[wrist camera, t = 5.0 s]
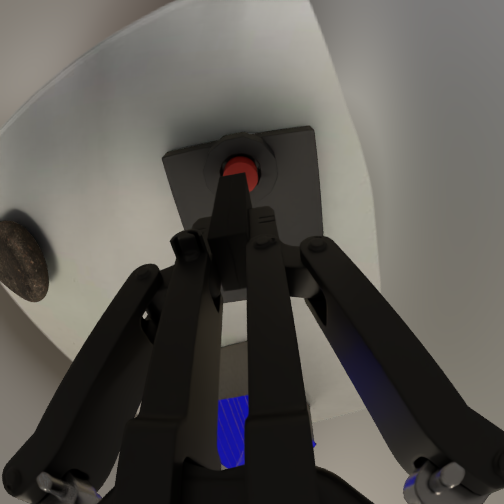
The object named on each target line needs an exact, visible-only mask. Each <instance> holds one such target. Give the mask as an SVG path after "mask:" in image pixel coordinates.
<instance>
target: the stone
mask: <svg viewBox="0 0 504 504" xmlns="http://www.w3.org/2000/svg"><path fill="white" fill-rule="evenodd" d="M0 281H1V282H2V283H3V284H4V285H6V286H7V287H8V288H9V289H10V290H12V291H13V292H14V293H16V294H17V295H18V296H20V297H21V298H23V299H25V300H27V301H30V302H38V301H41V300H42V299H43V298H44V297H45V296H46V294H47V291H48V286H49V276H48V270H47V265H46V262H45V259H44V256H43V253H42V251H41V249H40V247H39V245H38V244H37V242H36V241H35V239H34V238H33V236H32V235H31V234H30V233H29V232H28V231H27V230H26V229H25V228H24V227H23V226H21V225H20V224H18V223H16V222H13V221H0Z"/></svg>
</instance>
